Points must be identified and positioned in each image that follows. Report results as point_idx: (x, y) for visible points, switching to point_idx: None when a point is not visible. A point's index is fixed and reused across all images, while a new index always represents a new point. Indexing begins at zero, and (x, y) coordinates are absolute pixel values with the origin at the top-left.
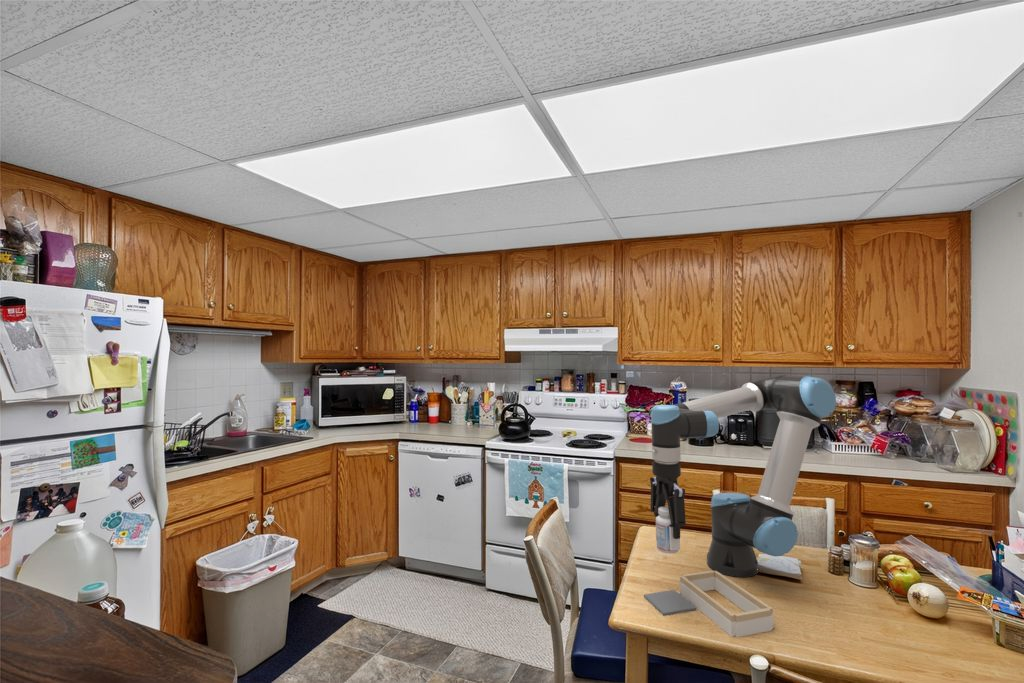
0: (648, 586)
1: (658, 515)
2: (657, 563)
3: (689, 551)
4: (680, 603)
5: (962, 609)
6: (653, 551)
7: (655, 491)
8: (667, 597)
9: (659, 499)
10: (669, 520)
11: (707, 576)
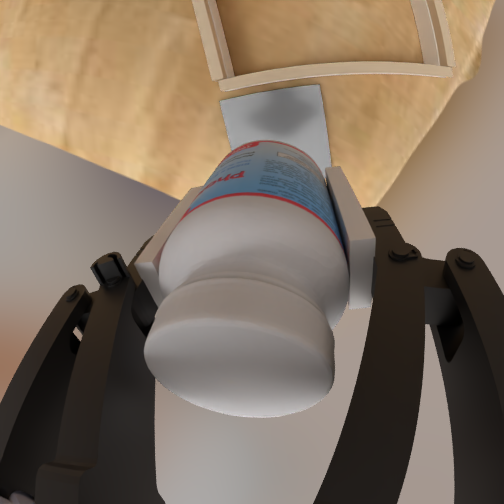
0: (190, 158)
1: (152, 310)
2: (80, 108)
3: (36, 32)
4: (294, 114)
5: None
6: (35, 110)
7: (51, 457)
8: (259, 135)
9: (150, 456)
10: (329, 324)
11: (207, 5)
